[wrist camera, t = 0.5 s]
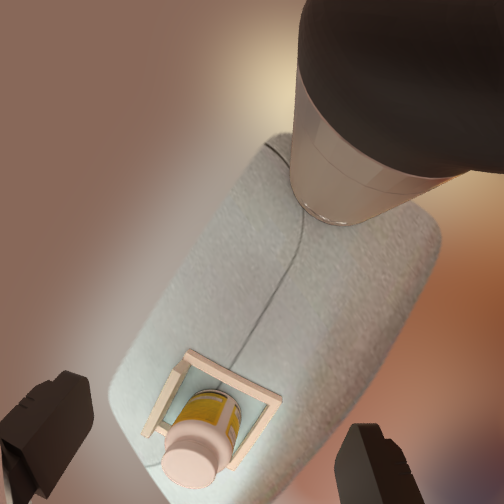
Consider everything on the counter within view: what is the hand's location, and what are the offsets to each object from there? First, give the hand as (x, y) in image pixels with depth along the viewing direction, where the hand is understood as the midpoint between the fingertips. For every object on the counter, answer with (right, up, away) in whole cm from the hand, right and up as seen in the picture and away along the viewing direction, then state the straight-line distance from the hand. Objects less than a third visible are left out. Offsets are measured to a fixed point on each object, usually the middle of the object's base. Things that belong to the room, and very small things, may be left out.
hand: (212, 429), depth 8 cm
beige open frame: (-3, -10, +20) cm, 22 cm away
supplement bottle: (-2, -10, +20) cm, 23 cm away
